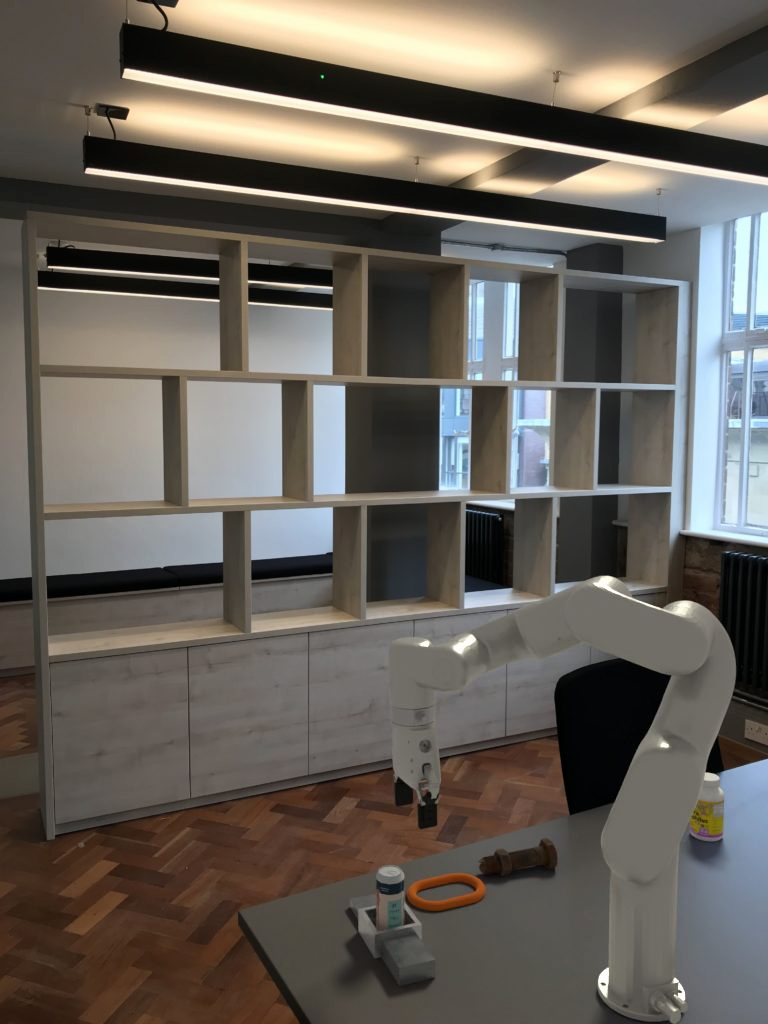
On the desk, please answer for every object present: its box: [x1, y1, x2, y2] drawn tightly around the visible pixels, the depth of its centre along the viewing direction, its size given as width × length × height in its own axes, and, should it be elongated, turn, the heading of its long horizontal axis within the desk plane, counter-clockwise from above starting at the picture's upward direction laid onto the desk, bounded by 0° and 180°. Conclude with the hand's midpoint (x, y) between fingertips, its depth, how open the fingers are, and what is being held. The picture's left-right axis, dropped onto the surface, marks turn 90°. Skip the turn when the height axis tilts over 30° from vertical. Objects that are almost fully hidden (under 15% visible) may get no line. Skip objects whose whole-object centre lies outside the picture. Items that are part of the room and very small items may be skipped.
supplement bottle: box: [689, 772, 725, 843], centre depth 181 cm, size 7×7×13 cm
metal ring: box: [406, 872, 487, 912], centre depth 158 cm, size 10×2×15 cm
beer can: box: [375, 864, 405, 931], centre depth 143 cm, size 5×5×12 cm
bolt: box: [478, 837, 558, 877], centre depth 166 cm, size 6×5×15 cm
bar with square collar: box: [349, 893, 436, 987], centre depth 143 cm, size 24×8×4 cm, turn 20°
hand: (415, 815), depth 142 cm, fingers open, 9 cm apart
